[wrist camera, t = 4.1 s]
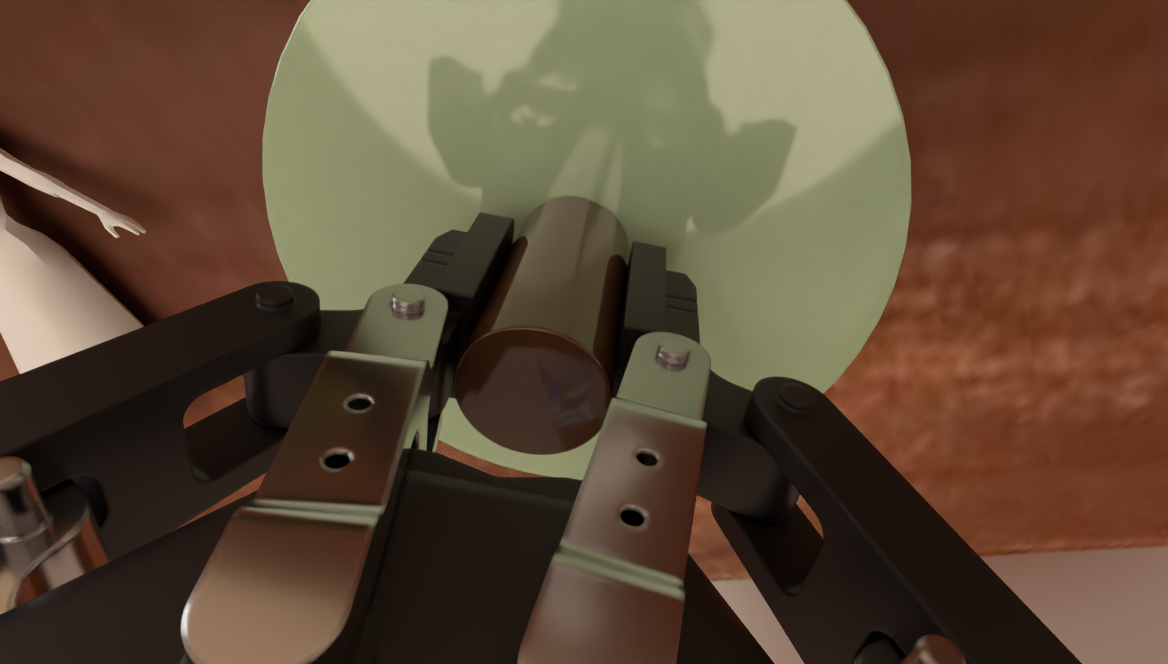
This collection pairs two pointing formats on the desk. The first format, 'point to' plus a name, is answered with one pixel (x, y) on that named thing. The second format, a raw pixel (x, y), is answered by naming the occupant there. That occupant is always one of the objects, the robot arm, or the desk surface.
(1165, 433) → the desk surface
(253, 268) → the desk surface
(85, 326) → the woman figurine
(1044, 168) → the desk surface
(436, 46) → the lid
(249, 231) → the desk surface
